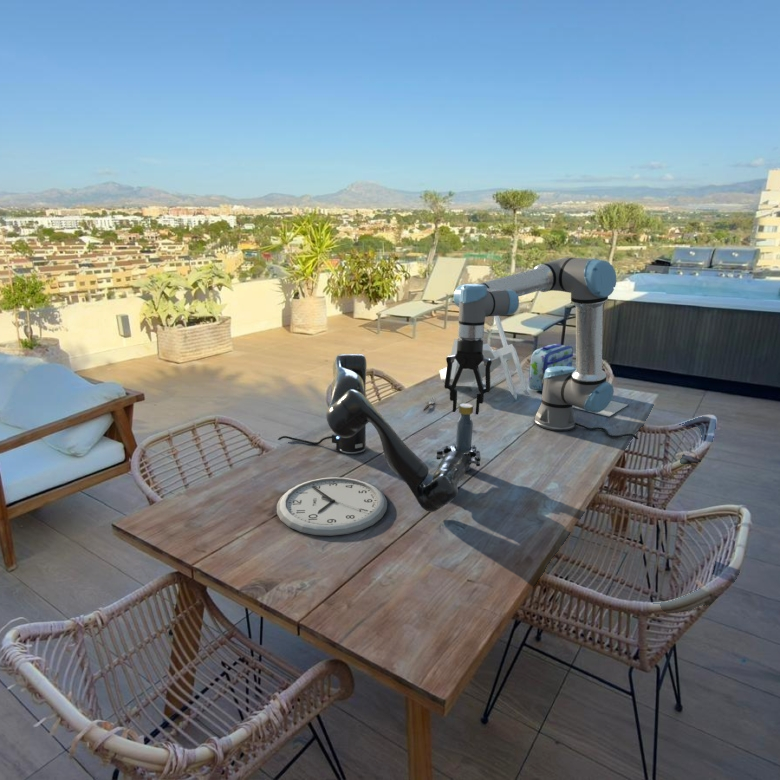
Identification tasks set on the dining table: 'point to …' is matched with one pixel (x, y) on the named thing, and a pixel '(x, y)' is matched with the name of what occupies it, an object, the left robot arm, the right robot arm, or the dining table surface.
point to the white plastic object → (497, 358)
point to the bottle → (464, 434)
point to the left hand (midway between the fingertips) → (465, 446)
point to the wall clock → (331, 506)
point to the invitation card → (609, 408)
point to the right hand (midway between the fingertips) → (465, 411)
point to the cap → (466, 409)
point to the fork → (430, 403)
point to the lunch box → (548, 362)
